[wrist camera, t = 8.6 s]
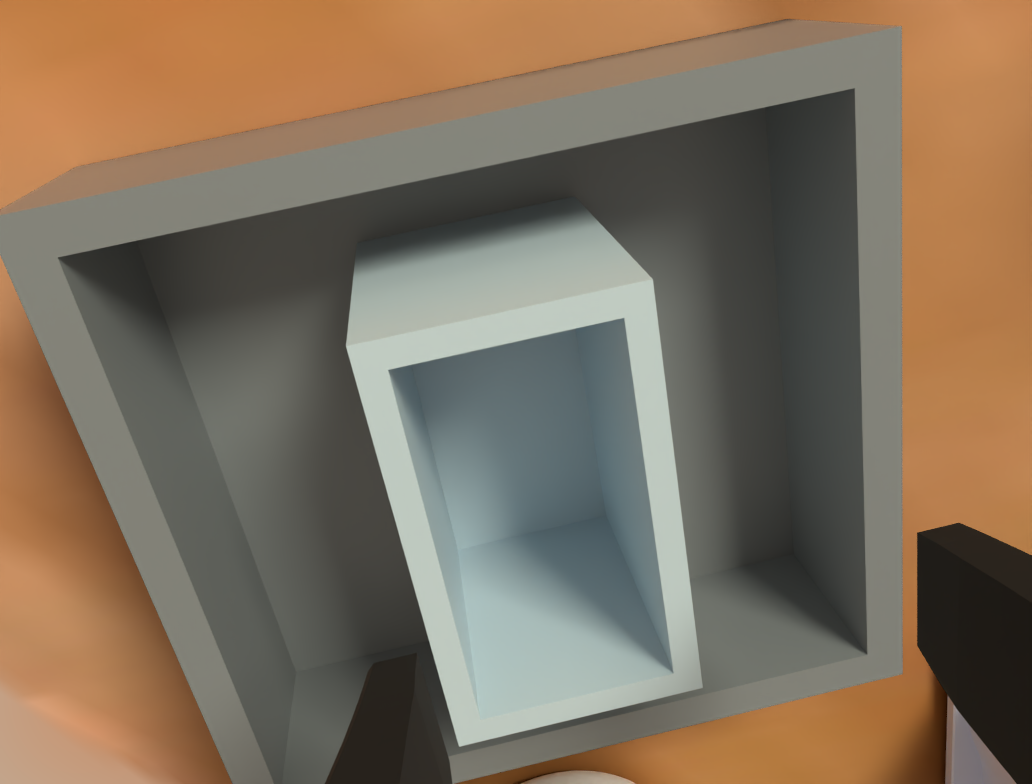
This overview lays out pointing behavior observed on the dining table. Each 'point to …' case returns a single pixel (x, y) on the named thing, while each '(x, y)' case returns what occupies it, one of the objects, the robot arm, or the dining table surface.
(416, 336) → the small crate
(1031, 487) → the dining table surface
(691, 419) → the big crate
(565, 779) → the supplement bottle
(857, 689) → the dining table surface
